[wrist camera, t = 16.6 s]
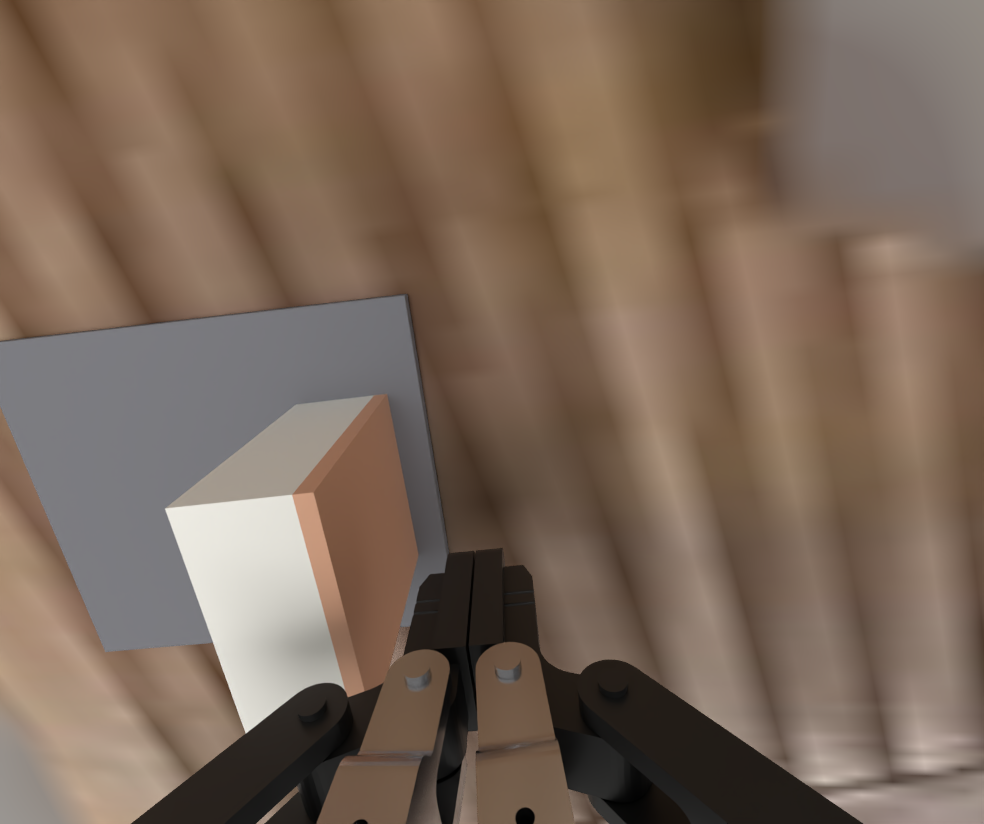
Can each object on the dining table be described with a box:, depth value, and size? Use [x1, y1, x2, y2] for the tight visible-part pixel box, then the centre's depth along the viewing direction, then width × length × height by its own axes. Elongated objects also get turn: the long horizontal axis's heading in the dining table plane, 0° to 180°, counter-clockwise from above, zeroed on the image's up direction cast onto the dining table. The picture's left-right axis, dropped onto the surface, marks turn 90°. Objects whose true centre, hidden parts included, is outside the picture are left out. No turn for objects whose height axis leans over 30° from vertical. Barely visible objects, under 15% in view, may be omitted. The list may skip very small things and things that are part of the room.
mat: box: [0, 294, 449, 652], centre depth 21 cm, size 14×16×1 cm
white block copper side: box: [165, 394, 419, 733], centre depth 17 cm, size 7×4×8 cm, turn 7°
